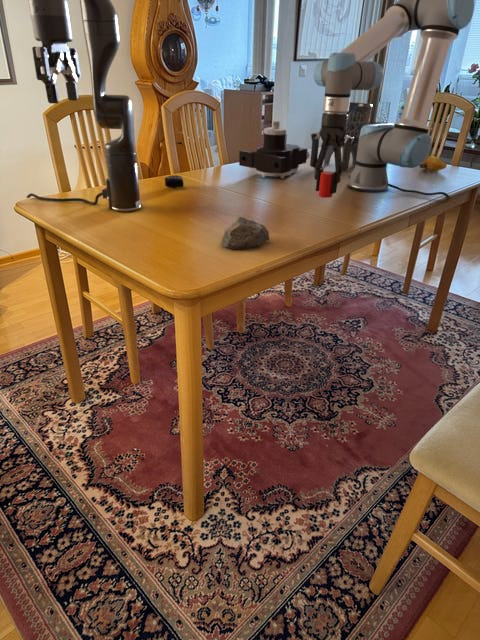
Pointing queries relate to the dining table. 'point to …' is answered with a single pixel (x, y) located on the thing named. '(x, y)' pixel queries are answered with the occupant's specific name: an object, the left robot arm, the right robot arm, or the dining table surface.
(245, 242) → the rock
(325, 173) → the canister
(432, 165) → the toy
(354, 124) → the planter
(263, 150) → the mechanical component
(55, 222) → the dining table surface
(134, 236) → the dining table surface
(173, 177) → the tape measure
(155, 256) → the dining table surface
